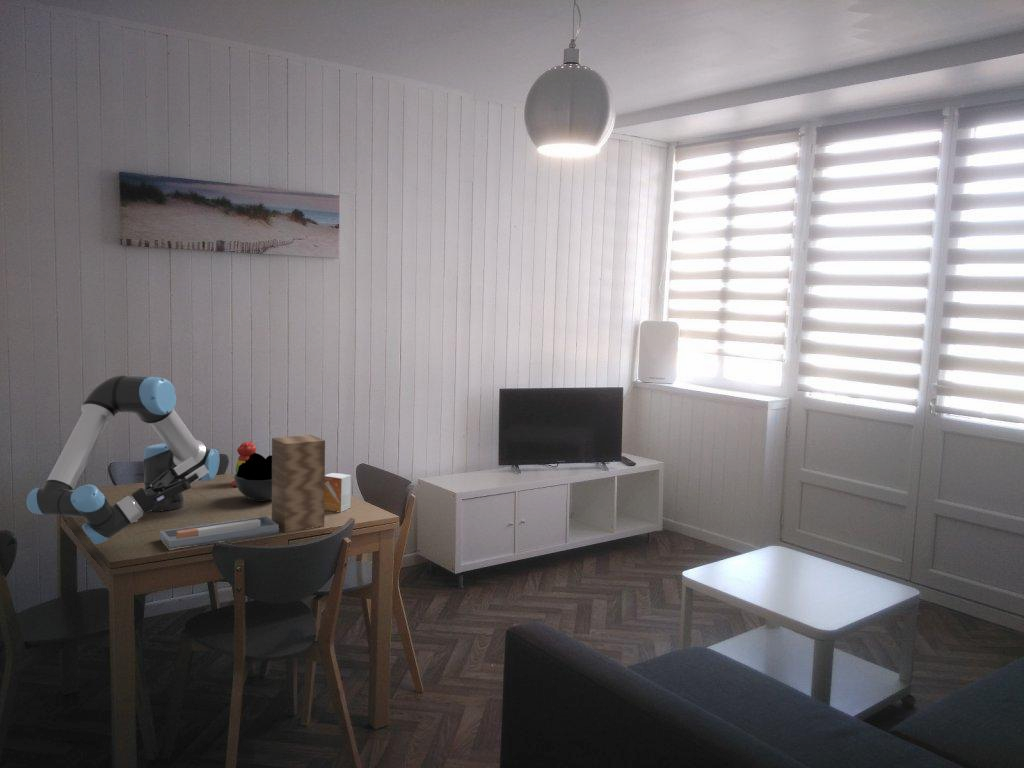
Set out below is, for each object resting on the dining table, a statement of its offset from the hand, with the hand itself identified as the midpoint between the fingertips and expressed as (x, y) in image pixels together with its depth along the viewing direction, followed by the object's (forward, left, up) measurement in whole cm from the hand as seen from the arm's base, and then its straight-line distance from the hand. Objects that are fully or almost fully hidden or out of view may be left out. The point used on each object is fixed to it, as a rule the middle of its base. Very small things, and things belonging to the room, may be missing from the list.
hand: (200, 464), depth 242 cm
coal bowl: (+22, +44, -25) cm, 56 cm away
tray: (+6, +2, -25) cm, 25 cm away
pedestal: (+31, +8, -25) cm, 41 cm away
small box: (+47, +24, -25) cm, 59 cm away
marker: (+6, +2, -24) cm, 24 cm away
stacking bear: (+18, +71, -25) cm, 78 cm away
